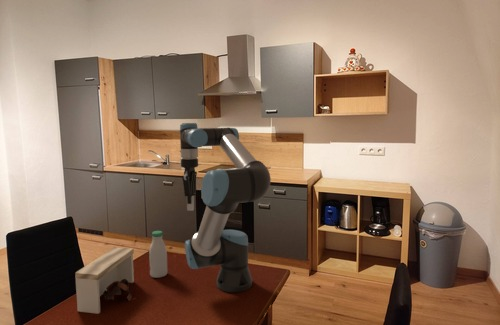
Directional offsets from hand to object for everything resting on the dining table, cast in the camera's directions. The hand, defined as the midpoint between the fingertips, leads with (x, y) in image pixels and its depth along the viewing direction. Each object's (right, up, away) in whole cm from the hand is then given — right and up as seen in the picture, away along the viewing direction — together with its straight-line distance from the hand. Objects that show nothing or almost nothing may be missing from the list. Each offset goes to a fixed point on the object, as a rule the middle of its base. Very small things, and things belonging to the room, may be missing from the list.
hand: (190, 210), depth 168 cm
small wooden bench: (-30, -32, -18) cm, 47 cm away
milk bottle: (-15, -30, +2) cm, 33 cm away
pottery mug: (-25, -33, -20) cm, 46 cm away
